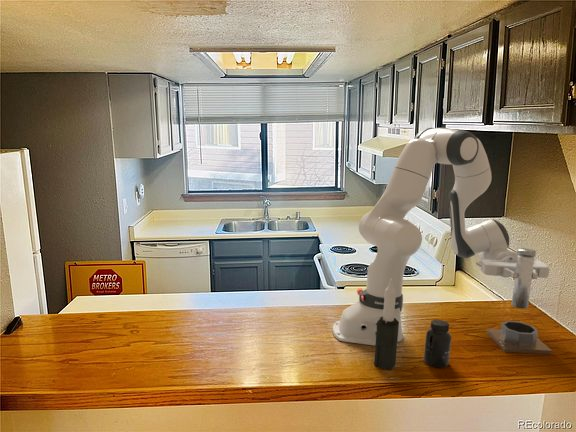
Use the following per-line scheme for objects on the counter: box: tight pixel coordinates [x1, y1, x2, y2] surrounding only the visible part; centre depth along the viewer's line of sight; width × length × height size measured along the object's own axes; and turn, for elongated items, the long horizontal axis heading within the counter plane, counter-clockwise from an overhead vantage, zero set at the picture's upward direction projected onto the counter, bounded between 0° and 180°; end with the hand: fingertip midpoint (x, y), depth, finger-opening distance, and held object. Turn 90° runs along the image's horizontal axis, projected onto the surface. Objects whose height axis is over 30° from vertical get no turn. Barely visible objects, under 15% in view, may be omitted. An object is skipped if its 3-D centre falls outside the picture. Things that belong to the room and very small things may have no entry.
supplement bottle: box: [423, 319, 452, 369], centre depth 128 cm, size 7×7×12 cm
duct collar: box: [486, 320, 553, 355], centre depth 143 cm, size 14×14×5 cm
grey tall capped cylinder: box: [511, 247, 537, 310], centre depth 140 cm, size 5×5×18 cm
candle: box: [373, 279, 399, 371], centre depth 124 cm, size 5×5×25 cm
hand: (525, 276), depth 139 cm, fingers closed on grey tall capped cylinder, 5 cm apart
